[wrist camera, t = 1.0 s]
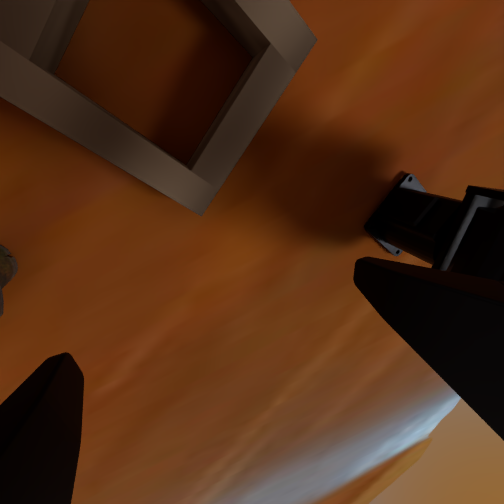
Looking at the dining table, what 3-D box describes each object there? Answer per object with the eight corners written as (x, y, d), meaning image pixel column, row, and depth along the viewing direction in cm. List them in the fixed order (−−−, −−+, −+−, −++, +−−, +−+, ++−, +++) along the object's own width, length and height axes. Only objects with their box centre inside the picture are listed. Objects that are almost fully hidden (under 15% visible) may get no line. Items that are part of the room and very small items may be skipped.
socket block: (293, 53, 17) (317, 39, 14) (195, 204, 19) (201, 216, 16) (103, -179, 11) (86, -278, 8) (-9, 79, 13) (-51, 66, 10)
